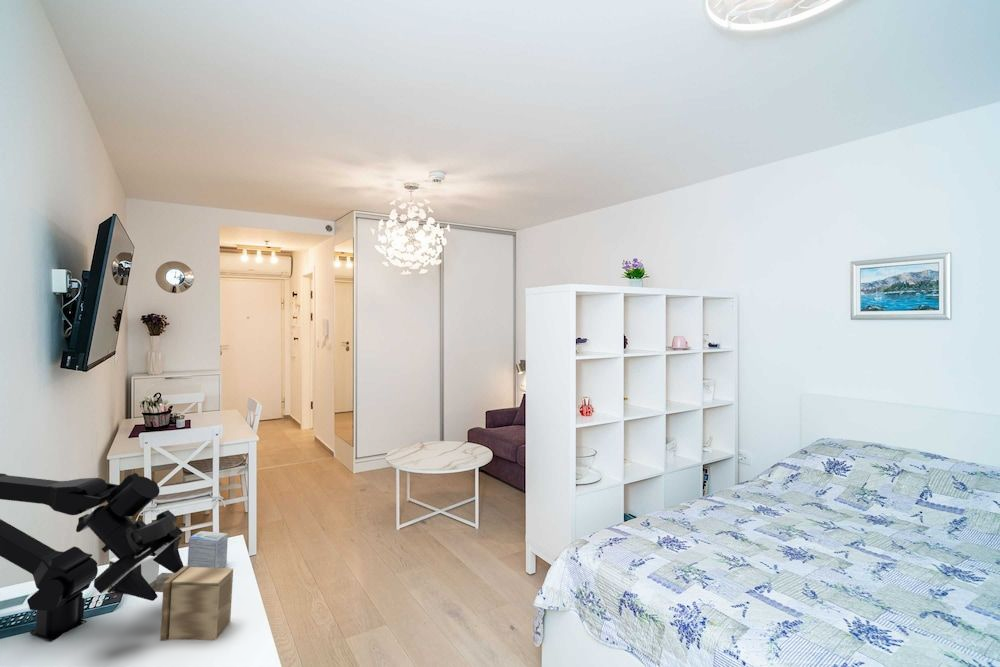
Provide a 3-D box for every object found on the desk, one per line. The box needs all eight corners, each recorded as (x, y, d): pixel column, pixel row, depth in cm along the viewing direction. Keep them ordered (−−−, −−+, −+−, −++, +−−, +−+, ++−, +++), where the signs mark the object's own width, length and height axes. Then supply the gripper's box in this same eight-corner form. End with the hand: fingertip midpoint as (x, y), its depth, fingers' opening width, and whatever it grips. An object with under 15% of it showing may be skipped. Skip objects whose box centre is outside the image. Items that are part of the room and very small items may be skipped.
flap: (138, 639, 96) (141, 582, 96) (161, 618, 102) (164, 565, 102) (165, 640, 96) (168, 582, 96) (186, 619, 103) (189, 565, 103)
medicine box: (227, 565, 127) (228, 533, 127) (215, 574, 123) (217, 540, 123) (199, 562, 128) (200, 530, 128) (186, 571, 123) (188, 537, 123)
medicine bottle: (107, 589, 113) (110, 538, 113) (139, 575, 120) (141, 527, 120) (127, 597, 111) (130, 544, 111) (158, 582, 117) (161, 533, 117)
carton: (168, 641, 96) (171, 581, 96) (186, 623, 102) (189, 567, 102) (214, 643, 97) (218, 583, 97) (230, 624, 103) (233, 568, 103)
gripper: (113, 521, 90) (171, 583, 90) (176, 489, 108) (224, 540, 109) (67, 562, 89) (125, 624, 90) (138, 523, 108) (186, 574, 108)
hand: (170, 586), depth 99 cm, fingers open, 9 cm apart
